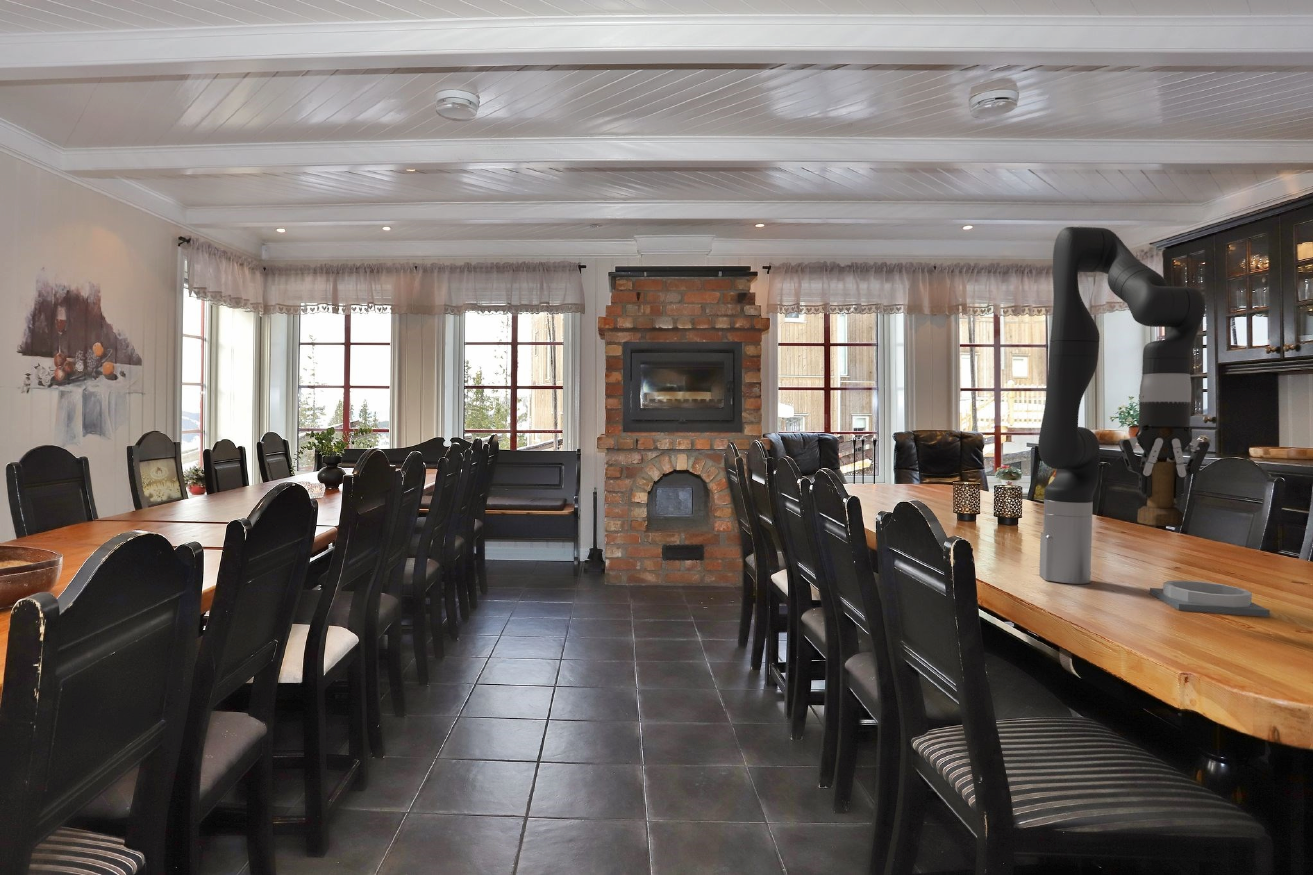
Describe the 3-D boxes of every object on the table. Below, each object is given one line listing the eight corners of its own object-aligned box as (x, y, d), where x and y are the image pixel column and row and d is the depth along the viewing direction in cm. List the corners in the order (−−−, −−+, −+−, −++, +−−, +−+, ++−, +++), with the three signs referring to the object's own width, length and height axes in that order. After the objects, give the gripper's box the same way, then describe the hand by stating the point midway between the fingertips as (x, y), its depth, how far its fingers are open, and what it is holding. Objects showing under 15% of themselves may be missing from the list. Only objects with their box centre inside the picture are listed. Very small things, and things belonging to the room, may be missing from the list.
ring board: (1178, 610, 135) (1179, 592, 135) (1149, 593, 149) (1150, 577, 149) (1269, 616, 132) (1270, 599, 132) (1231, 599, 145) (1231, 583, 145)
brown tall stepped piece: (1139, 524, 130) (1143, 421, 130) (1135, 520, 136) (1139, 421, 136) (1185, 527, 127) (1189, 422, 127) (1179, 523, 133) (1183, 422, 132)
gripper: (1126, 399, 129) (1122, 497, 130) (1221, 400, 126) (1217, 501, 126) (1112, 400, 137) (1108, 493, 137) (1201, 401, 133) (1198, 497, 133)
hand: (1160, 496), depth 131 cm, fingers closed on brown tall stepped piece, 4 cm apart
